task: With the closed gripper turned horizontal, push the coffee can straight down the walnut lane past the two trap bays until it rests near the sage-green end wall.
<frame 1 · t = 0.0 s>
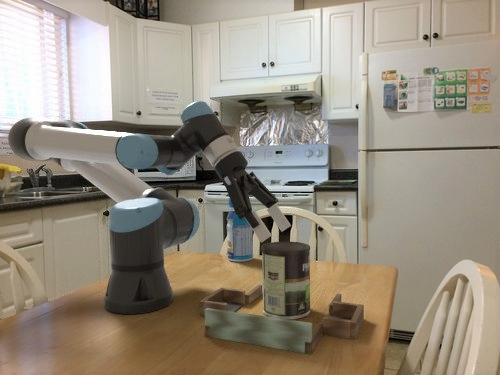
hand: (277, 233, 97), 15 cm above the table, tool tilted 35°, fingers open, 13 cm apart
coffee can: (286, 311, 90), on the table
beverage bottle: (240, 259, 136), on the table
trap box: (275, 322, 84), on the table
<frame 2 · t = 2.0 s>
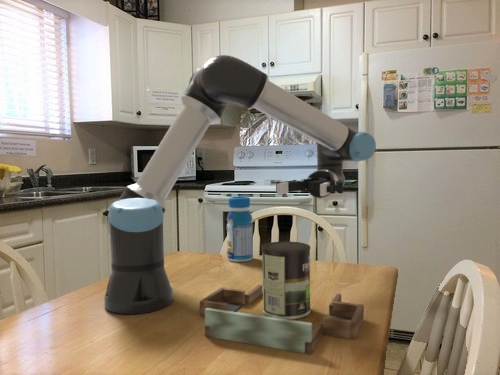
hand: (299, 189, 98), 25 cm above the table, tool horizontal, fingers open, 10 cm apart
nothing on the table moved.
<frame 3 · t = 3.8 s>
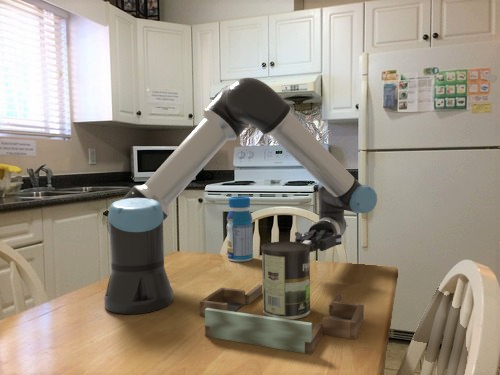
hand: (300, 251, 98), 11 cm above the table, tool horizontal, fingers closed
nothing on the table moved.
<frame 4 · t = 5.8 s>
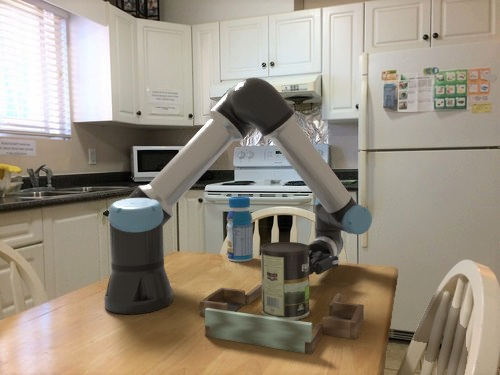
hand: (295, 276, 94), 6 cm above the table, tool horizontal, fingers closed
coffee can: (285, 312, 90), on the table, touching gripper
everything else where it was.
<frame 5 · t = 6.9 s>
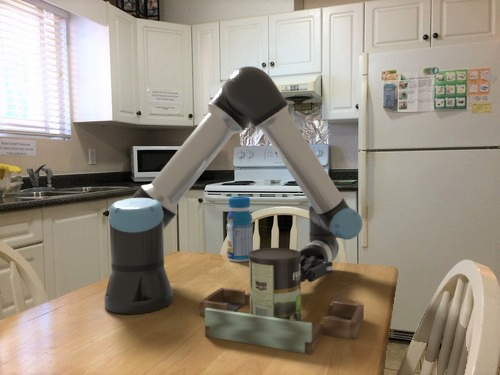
hand: (286, 284, 88), 6 cm above the table, tool horizontal, fingers closed
coffee can: (275, 323, 84), on the table, touching gripper
everything else where it was.
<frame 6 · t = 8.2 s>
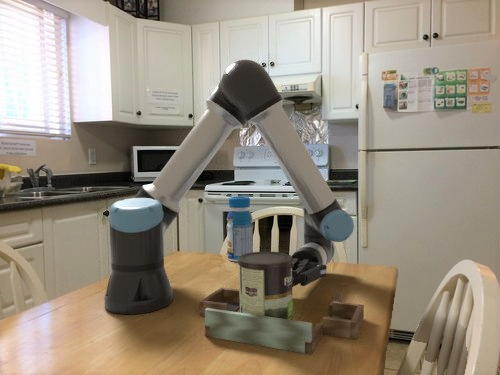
hand: (277, 288, 85), 7 cm above the table, tool horizontal, fingers closed
coffee can: (266, 330, 81), on the table, touching gripper
everything else where it was.
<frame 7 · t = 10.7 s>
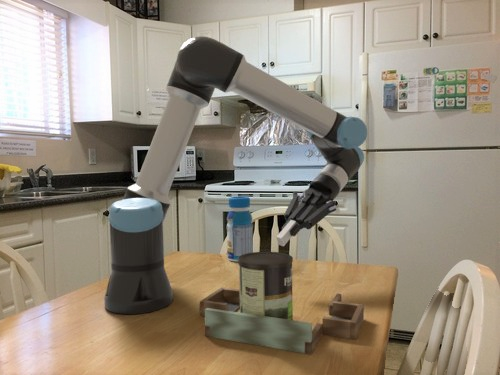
hand: (280, 241, 102), 12 cm above the table, tool tilted 55°, fingers closed
coffee can: (266, 330, 81), on the table
everything else where it was.
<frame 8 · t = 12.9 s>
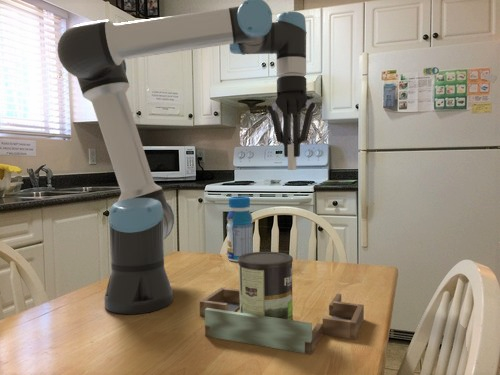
hand: (292, 169, 109), 29 cm above the table, tool pointing down, fingers closed
nothing on the table moved.
at the end: coffee can inside the target area (0.6 cm from its centre), on the table; coffee can tilted 0° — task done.
